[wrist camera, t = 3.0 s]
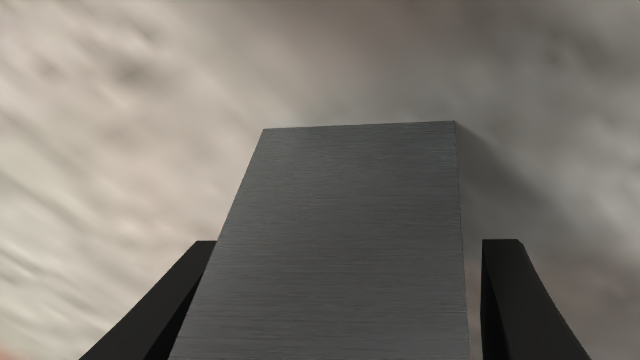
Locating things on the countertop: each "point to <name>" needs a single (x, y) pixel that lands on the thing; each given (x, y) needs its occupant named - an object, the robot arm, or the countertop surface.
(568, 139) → the countertop surface
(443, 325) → the peg
